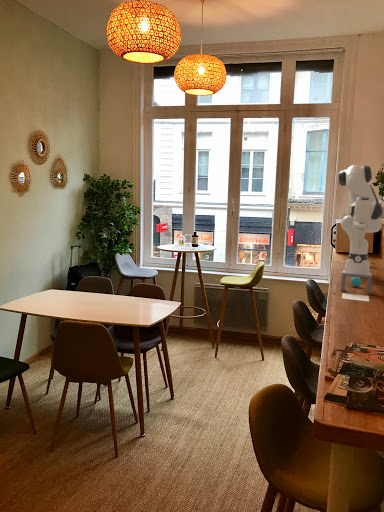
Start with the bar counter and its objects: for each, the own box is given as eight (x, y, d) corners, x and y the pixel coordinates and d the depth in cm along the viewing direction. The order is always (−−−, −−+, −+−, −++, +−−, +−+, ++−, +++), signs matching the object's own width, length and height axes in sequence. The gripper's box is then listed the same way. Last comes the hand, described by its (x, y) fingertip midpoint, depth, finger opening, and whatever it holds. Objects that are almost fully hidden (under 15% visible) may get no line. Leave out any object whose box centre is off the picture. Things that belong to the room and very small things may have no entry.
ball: (350, 285, 268) (351, 274, 267) (361, 286, 266) (362, 276, 265) (349, 287, 262) (350, 276, 262) (361, 288, 260) (362, 277, 260)
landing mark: (342, 293, 244) (342, 293, 244) (368, 296, 240) (368, 295, 240) (341, 298, 232) (341, 298, 232) (369, 301, 228) (369, 301, 228)
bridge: (341, 290, 253) (342, 272, 252) (370, 293, 248) (372, 275, 247) (340, 291, 250) (342, 273, 249) (370, 294, 245) (372, 276, 244)
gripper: (355, 223, 279) (353, 246, 281) (355, 225, 260) (353, 249, 262) (366, 224, 277) (364, 246, 279) (367, 226, 258) (364, 250, 260)
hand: (358, 248), depth 271 cm, fingers closed
